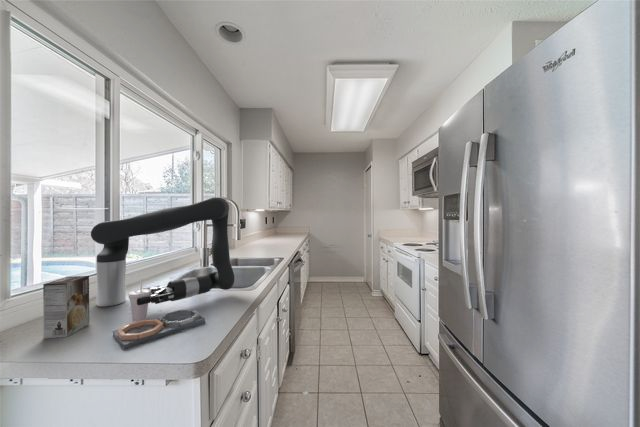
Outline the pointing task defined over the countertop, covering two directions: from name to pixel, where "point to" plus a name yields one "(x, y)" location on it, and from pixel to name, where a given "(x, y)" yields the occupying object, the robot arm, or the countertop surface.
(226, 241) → the robot arm
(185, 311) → the grey collar
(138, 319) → the smoothie
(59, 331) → the coffee box
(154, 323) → the terracotta collar
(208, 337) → the countertop surface
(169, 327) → the dual ring board
